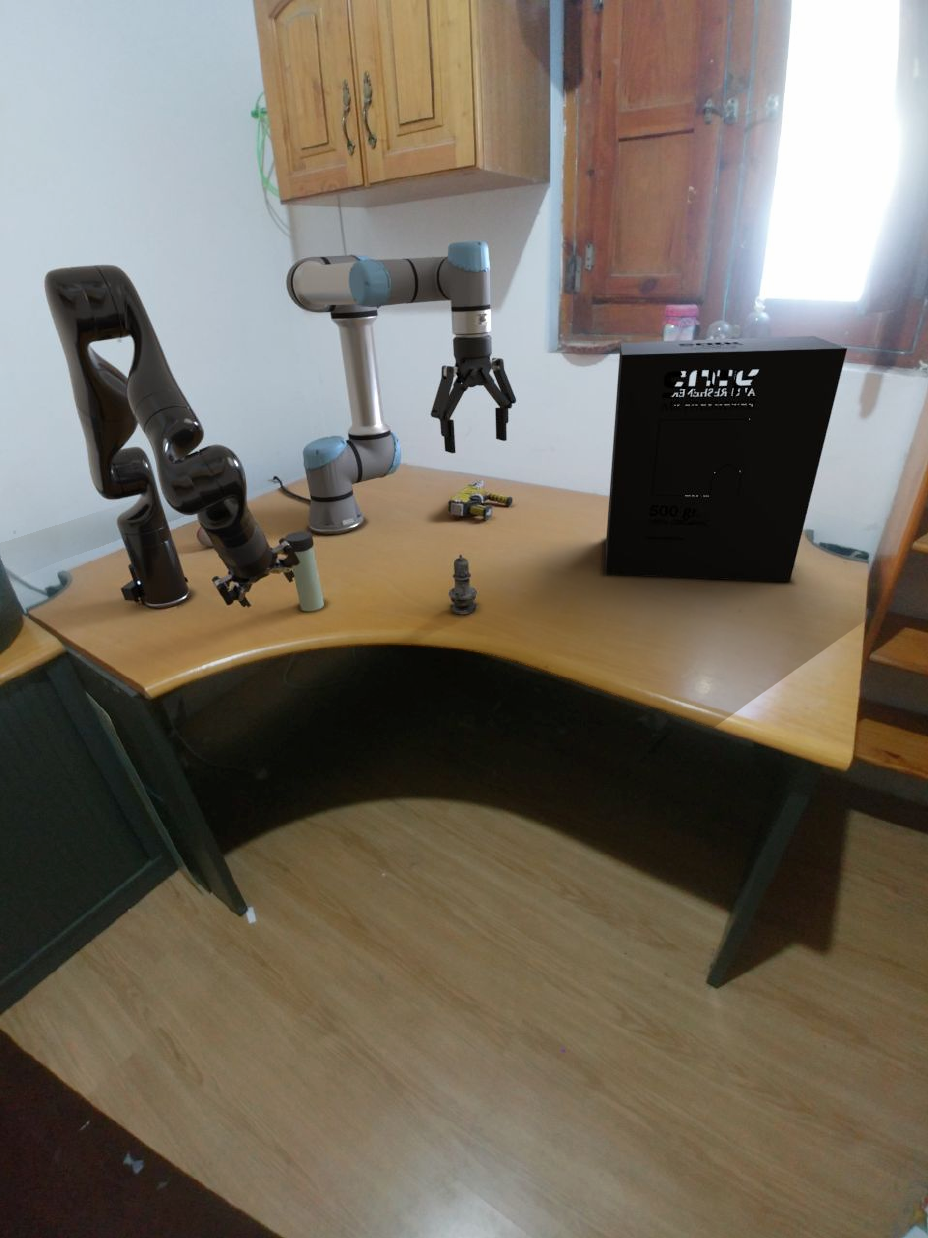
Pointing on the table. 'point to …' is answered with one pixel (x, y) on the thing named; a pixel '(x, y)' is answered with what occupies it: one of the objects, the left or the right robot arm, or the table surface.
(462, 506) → the toy gun
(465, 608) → the dark grey turned figure
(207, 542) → the eyeball
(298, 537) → the lid
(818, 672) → the table surface
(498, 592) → the table surface
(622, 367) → the cardboard box
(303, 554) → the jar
